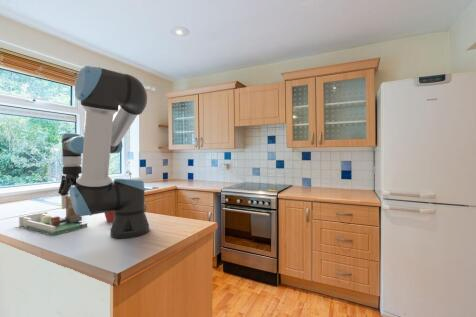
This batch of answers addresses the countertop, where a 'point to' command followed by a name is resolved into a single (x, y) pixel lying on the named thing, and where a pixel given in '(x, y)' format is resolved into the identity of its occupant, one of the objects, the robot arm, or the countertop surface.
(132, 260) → the countertop surface
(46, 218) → the ball
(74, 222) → the rail
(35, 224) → the pitch
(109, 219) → the flower pot
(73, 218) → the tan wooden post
